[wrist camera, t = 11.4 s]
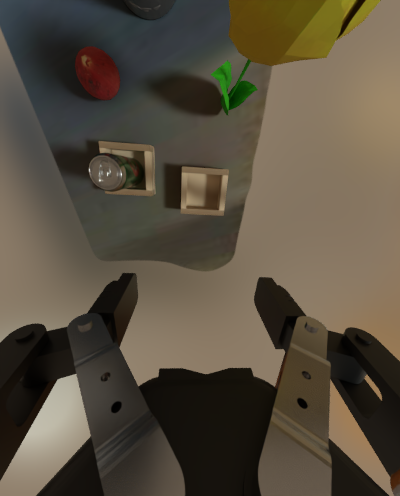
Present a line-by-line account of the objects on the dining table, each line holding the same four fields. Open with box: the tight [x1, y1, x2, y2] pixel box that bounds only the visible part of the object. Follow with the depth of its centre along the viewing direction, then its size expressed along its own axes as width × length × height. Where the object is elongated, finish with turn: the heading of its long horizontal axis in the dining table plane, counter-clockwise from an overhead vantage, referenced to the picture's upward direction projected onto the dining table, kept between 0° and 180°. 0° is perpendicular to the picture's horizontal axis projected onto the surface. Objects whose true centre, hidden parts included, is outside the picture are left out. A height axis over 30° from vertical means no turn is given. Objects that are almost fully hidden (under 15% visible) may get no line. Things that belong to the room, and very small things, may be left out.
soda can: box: [89, 153, 144, 192], centre depth 31 cm, size 5×5×12 cm
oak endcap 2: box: [181, 166, 229, 216], centre depth 37 cm, size 8×8×4 cm
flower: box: [211, 0, 381, 115], centre depth 19 cm, size 9×8×30 cm
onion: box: [75, 46, 120, 100], centre depth 28 cm, size 6×6×8 cm
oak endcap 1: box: [99, 141, 155, 196], centre depth 35 cm, size 8×8×4 cm
